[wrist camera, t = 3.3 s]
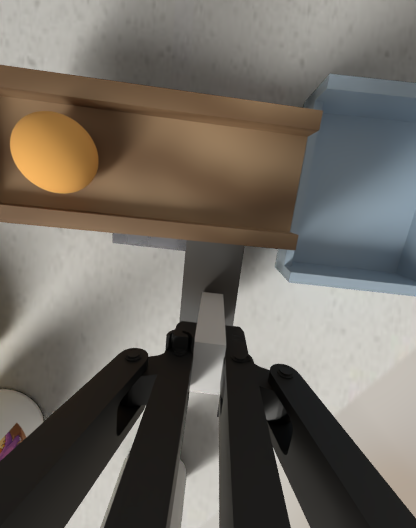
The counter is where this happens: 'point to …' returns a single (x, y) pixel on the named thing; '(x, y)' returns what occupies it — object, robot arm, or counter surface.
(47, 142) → the ball
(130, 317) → the counter surface
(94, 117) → the seesaw chute
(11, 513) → the robot arm
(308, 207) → the box
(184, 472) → the can
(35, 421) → the milk bottle
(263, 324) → the counter surface
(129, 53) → the counter surface
